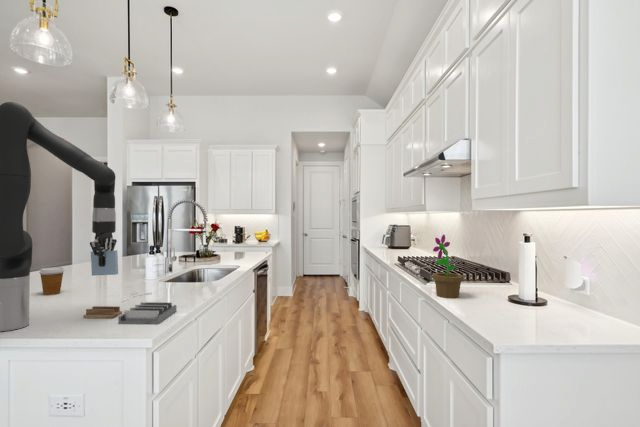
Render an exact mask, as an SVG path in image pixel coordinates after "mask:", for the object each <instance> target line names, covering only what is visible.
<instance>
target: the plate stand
mask: <svg viewBox="0 0 640 427" xmlns="http://www.w3.org/2000/svg"><path fill="white" fill-rule="evenodd" d="M121 315H123V311H122V310H121V306H113V305H111V306H109V305H107V306H105V305H102V306H101V305H100V306H92V307H91V308H86V309H85V314H83V315H82V317H83V319H115V318H118V317H119V316H121Z"/></svg>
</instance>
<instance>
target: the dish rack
mask: <svg viewBox="0 0 640 427" xmlns="http://www.w3.org/2000/svg"><path fill="white" fill-rule="evenodd" d="M176 312H177V305H176V304H173V302H170V301H169V302H166V301H165V302H159V301H158V302H154V301H151V302H150V301H149V302H148V301H147V302H146V301H145V302H144V301H141V302H139V304H136V305H135V306H134V307H130V308H129V310H127V309H126V310H124V312H123V313H122V314H121V315H119V316H117V318H118V319H117V320H118V323H117V324H119V325H159V324H161V323H162V322H163V321H165V320H166V319H167V318H170V317H171V316H172V315H174V314H175V313H176Z"/></svg>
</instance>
